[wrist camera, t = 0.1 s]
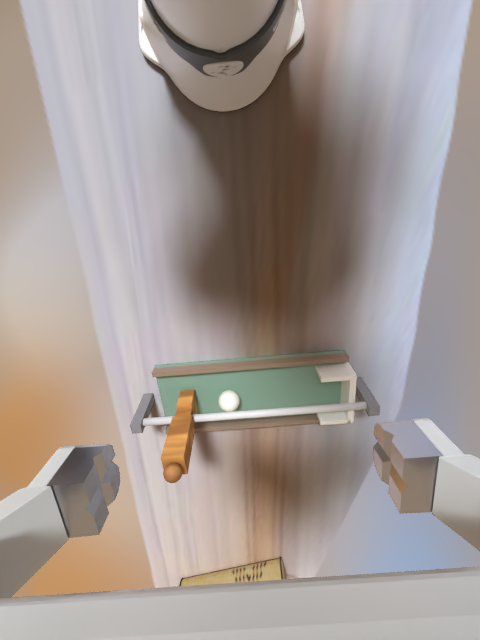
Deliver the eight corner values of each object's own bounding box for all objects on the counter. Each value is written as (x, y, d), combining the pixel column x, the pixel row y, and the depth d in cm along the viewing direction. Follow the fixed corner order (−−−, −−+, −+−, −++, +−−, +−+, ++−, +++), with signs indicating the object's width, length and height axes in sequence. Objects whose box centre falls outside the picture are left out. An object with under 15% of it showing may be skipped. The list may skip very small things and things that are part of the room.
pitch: (137, 366, 54) (121, 395, 46) (363, 348, 53) (383, 375, 45) (152, 425, 59) (139, 460, 51) (358, 410, 58) (376, 443, 50)
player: (178, 390, 54) (156, 469, 39) (196, 389, 54) (180, 468, 39) (182, 409, 55) (162, 492, 40) (199, 408, 55) (185, 490, 40)
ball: (217, 386, 54) (216, 399, 51) (238, 385, 54) (238, 398, 51) (220, 403, 56) (219, 417, 52) (240, 402, 55) (240, 415, 52)
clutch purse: (184, 591, 80) (173, 675, 67) (173, 576, 78) (160, 660, 64) (296, 568, 77) (309, 652, 63) (289, 551, 74) (301, 635, 60)
